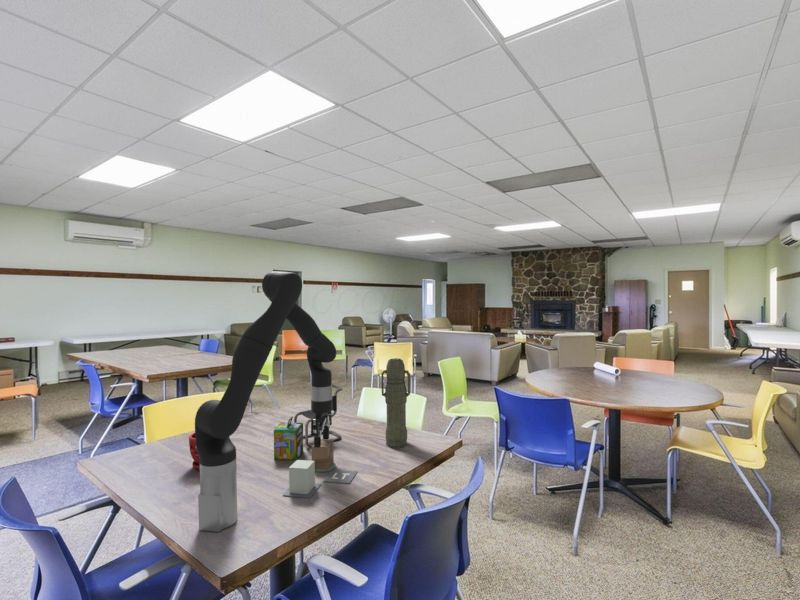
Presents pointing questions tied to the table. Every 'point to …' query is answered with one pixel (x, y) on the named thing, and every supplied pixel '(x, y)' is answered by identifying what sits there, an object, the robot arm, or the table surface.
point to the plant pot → (194, 451)
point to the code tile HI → (303, 494)
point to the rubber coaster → (326, 470)
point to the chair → (311, 416)
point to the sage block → (301, 476)
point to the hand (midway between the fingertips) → (321, 442)
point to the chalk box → (288, 440)
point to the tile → (340, 476)
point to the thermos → (396, 403)
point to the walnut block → (323, 455)
